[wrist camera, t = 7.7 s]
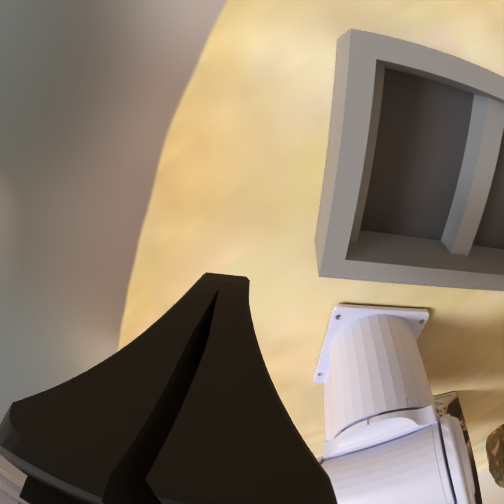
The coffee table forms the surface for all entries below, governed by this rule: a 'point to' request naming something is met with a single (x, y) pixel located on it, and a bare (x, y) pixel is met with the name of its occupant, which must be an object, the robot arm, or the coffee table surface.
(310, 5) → the coffee table surface
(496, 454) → the dark brown rounded lump
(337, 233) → the tray
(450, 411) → the coffee box
